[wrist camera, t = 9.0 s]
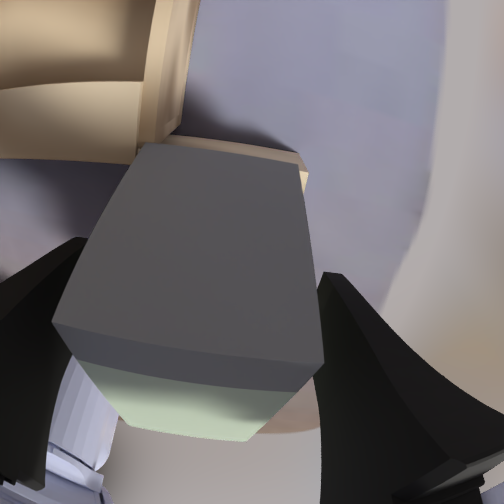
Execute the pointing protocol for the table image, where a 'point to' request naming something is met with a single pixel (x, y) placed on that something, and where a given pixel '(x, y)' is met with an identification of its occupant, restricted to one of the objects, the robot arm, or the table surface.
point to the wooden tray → (91, 76)
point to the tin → (197, 293)
